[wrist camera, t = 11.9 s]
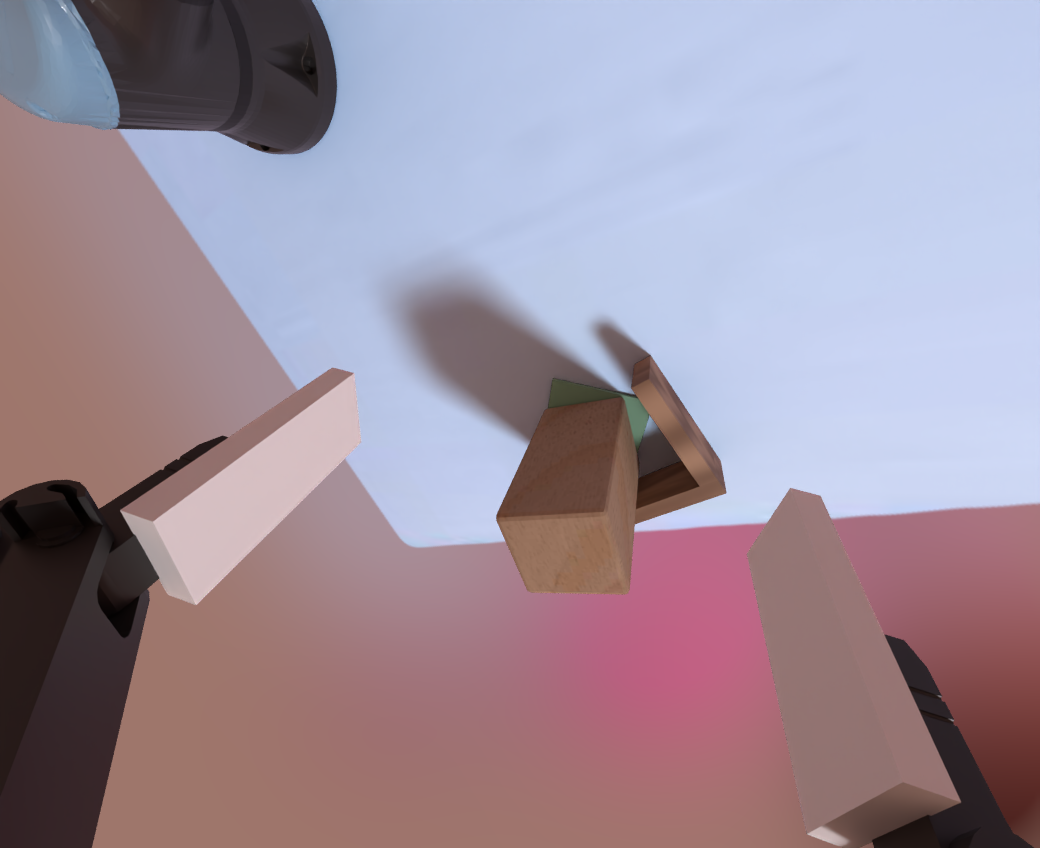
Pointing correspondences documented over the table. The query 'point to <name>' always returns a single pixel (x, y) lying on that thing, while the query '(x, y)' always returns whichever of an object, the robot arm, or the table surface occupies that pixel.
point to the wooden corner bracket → (699, 462)
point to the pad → (577, 393)
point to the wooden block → (575, 501)
